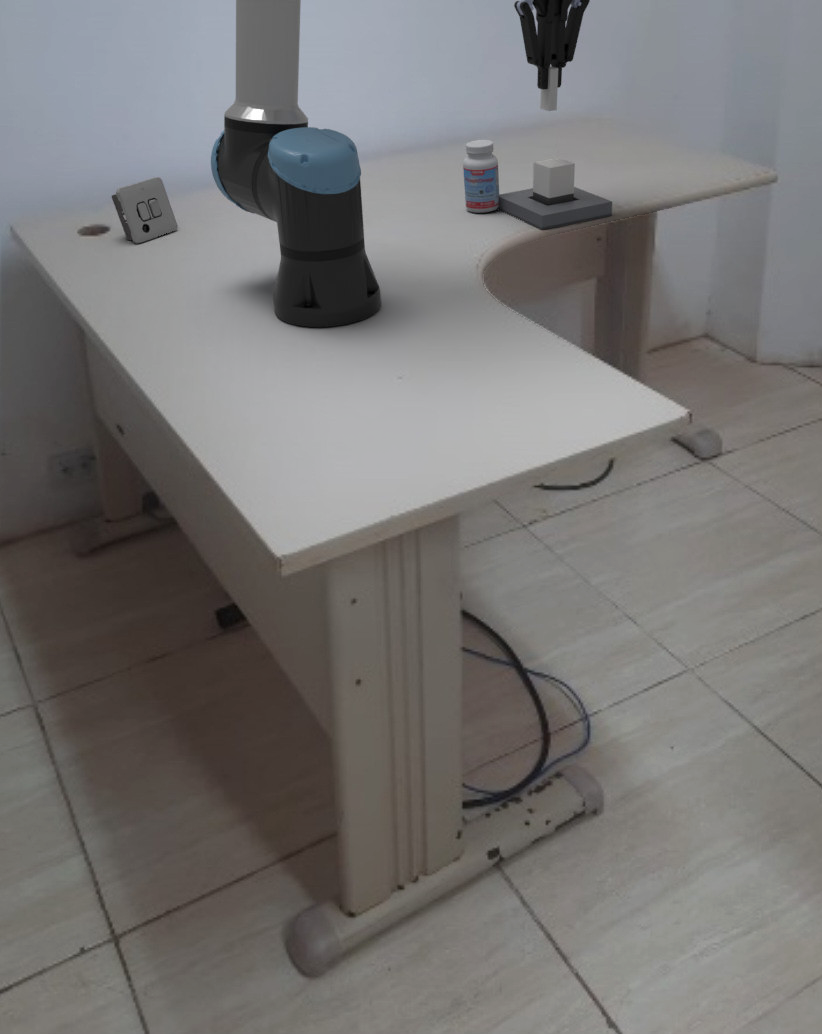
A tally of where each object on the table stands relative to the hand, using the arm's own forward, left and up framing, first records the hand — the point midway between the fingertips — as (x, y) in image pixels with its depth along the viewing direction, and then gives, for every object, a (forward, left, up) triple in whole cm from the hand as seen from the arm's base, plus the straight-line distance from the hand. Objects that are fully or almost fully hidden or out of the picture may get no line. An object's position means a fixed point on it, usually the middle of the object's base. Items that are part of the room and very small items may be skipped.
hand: (548, 109), depth 177 cm
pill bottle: (+6, +9, -17) cm, 20 cm away
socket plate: (-2, 0, -17) cm, 17 cm away
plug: (-2, 0, -16) cm, 16 cm away
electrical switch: (+27, +64, -17) cm, 72 cm away
